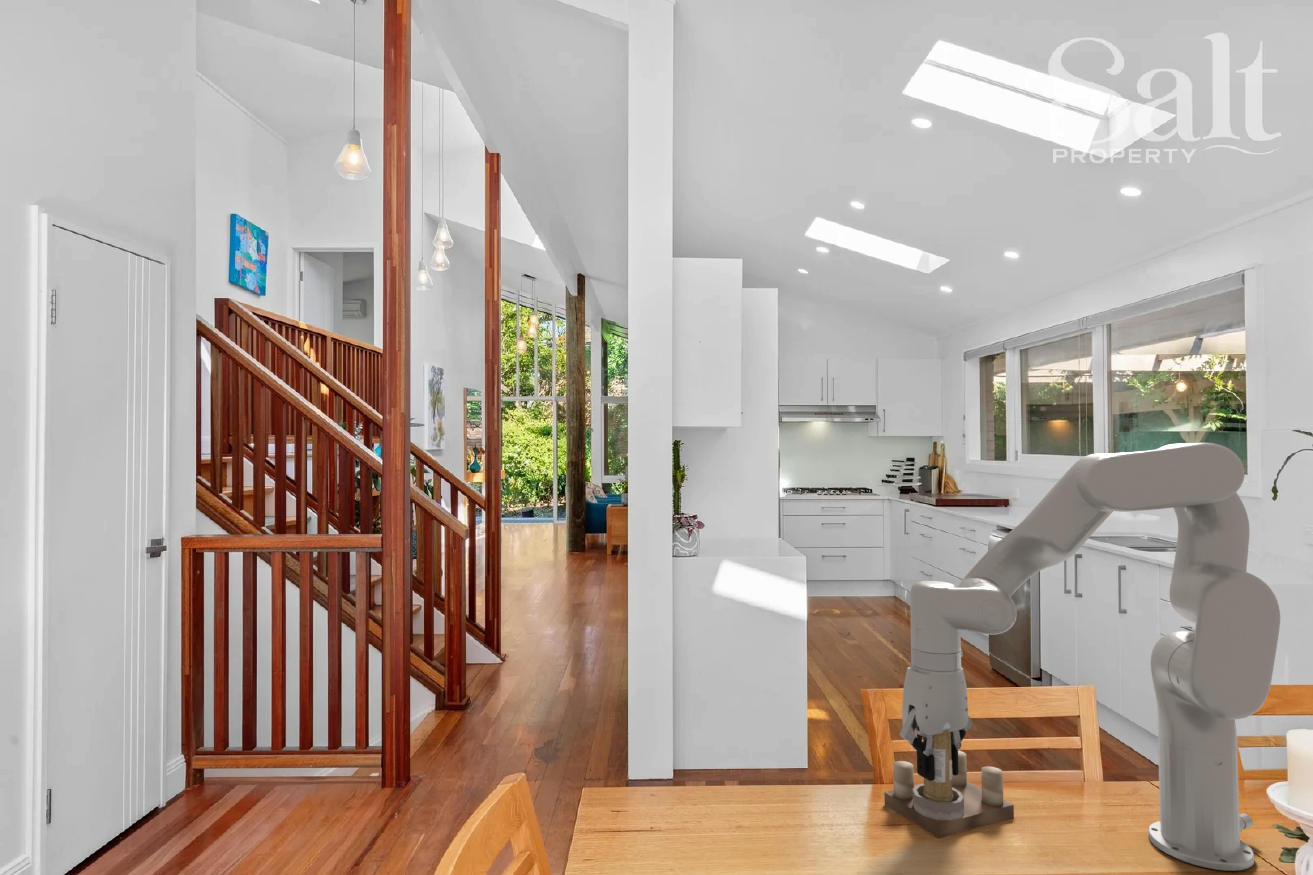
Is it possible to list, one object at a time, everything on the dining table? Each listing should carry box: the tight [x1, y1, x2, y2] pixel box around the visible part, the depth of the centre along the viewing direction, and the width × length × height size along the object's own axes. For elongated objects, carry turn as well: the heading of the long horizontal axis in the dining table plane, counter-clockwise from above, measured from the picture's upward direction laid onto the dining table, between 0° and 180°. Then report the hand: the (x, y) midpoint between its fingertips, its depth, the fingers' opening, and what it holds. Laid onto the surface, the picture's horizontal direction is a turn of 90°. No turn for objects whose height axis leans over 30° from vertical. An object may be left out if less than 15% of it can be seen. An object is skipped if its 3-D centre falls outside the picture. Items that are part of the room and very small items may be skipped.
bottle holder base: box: [883, 750, 1015, 839], centre depth 121 cm, size 16×12×7 cm
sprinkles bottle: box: [922, 723, 953, 802], centre depth 117 cm, size 5×5×14 cm
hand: (937, 773), depth 117 cm, fingers closed on sprinkles bottle, 4 cm apart
